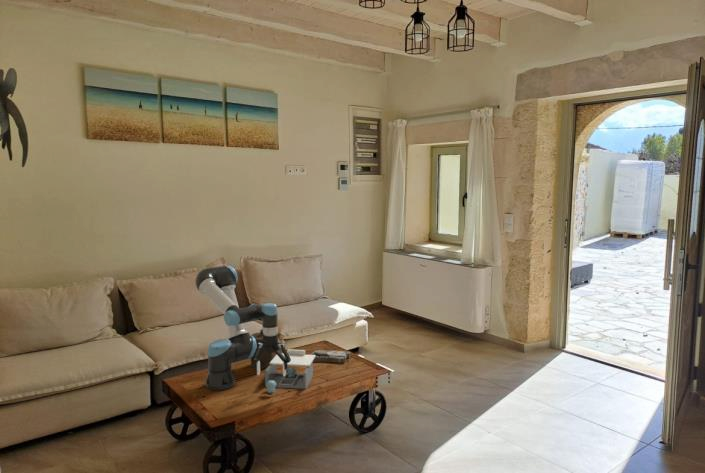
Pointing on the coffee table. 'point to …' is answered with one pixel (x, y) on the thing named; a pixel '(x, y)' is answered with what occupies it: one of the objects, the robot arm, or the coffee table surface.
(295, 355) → the lid
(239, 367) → the coffee table surface
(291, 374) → the jaw peg seated
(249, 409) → the coffee table surface
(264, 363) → the wooden container
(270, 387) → the peg
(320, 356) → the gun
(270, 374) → the housing
